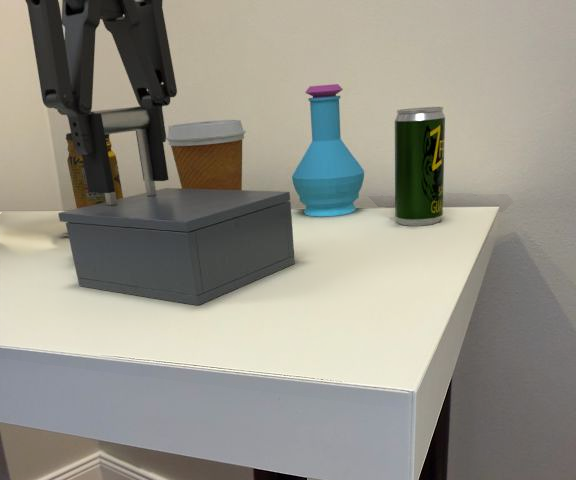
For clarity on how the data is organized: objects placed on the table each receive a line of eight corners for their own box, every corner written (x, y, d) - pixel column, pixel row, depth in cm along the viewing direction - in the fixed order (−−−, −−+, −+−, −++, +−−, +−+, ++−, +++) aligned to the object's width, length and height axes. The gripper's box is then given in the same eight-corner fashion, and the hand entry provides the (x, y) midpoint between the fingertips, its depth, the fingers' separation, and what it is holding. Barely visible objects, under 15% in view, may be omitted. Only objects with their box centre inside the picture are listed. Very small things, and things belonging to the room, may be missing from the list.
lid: (59, 221, 59) (36, 116, 55) (167, 195, 68) (154, 104, 65) (188, 232, 50) (170, 107, 46) (290, 200, 60) (283, 95, 56)
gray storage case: (78, 286, 61) (65, 222, 58) (181, 251, 70) (173, 196, 68) (198, 305, 52) (188, 232, 50) (295, 263, 62) (290, 201, 60)
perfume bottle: (329, 202, 91) (323, 84, 85) (380, 207, 85) (378, 80, 79) (280, 214, 86) (270, 89, 80) (330, 221, 79) (324, 85, 73)
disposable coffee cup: (191, 236, 77) (176, 128, 72) (170, 224, 85) (156, 126, 80) (265, 224, 81) (256, 119, 76) (239, 214, 89) (229, 118, 84)
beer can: (390, 226, 74) (389, 111, 69) (400, 216, 79) (400, 108, 74) (438, 226, 72) (440, 108, 67) (446, 216, 77) (449, 105, 72)
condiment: (139, 222, 89) (123, 127, 84) (112, 236, 81) (93, 133, 76) (90, 224, 90) (71, 131, 85) (59, 238, 83) (37, 137, 78)
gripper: (-3, -155, 43) (72, 206, 52) (195, -108, 57) (226, 171, 66) (-62, -127, 47) (17, 202, 57) (136, -89, 61) (172, 170, 70)
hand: (129, 185), depth 61 cm, fingers closed on lid, 6 cm apart
